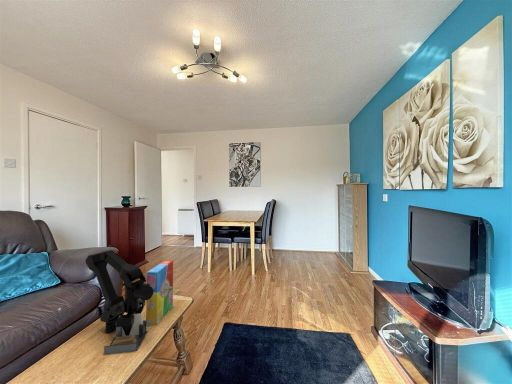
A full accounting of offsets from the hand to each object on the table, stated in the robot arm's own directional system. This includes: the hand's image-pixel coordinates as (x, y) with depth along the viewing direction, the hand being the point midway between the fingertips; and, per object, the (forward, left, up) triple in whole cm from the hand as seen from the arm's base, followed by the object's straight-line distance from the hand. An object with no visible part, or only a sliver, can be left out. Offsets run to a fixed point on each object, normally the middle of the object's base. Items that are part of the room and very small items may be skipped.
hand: (131, 330), depth 103 cm
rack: (+4, 0, -3) cm, 5 cm away
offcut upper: (+9, 0, 0) cm, 9 cm away
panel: (0, 0, -2) cm, 2 cm away
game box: (-16, +9, -3) cm, 19 cm away
